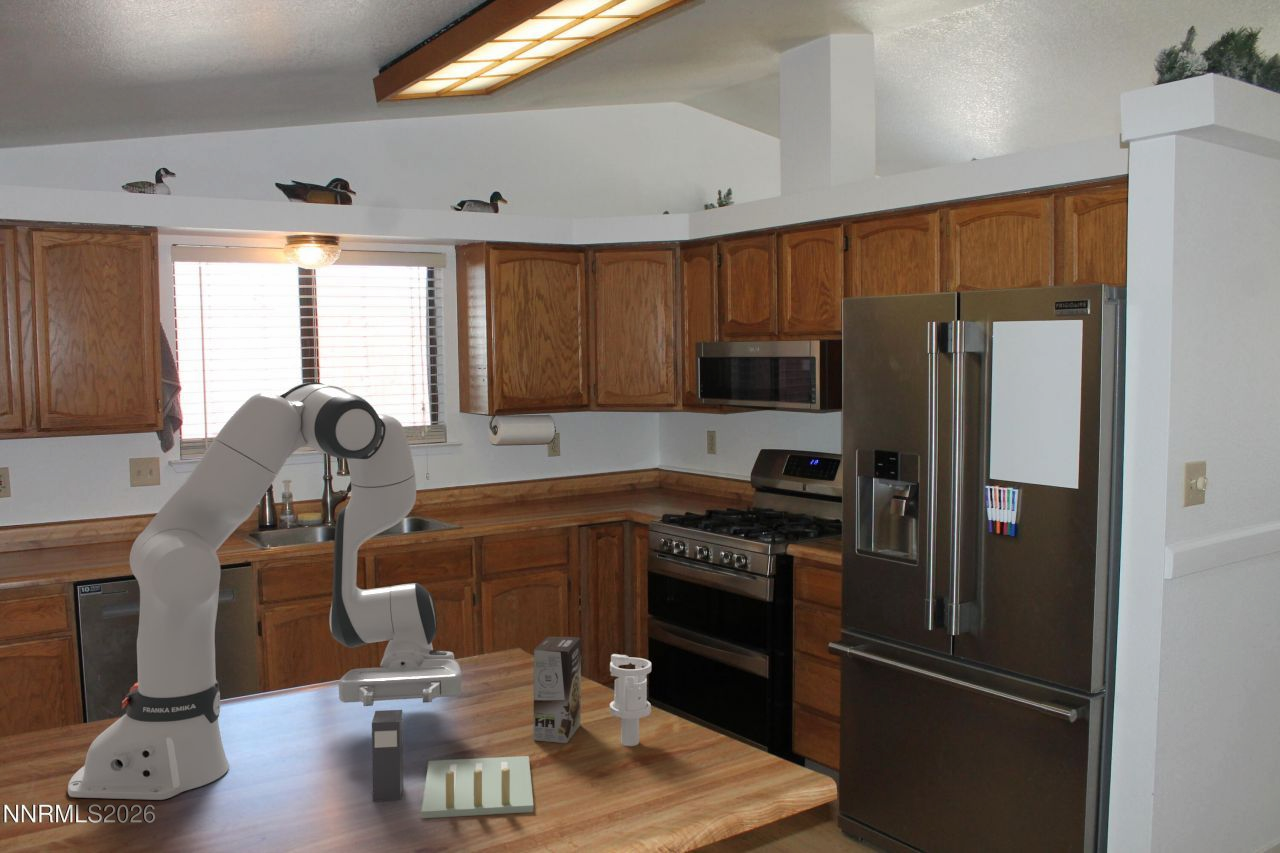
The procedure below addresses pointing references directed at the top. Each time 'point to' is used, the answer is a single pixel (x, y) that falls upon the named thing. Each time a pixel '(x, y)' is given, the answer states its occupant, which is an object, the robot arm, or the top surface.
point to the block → (387, 755)
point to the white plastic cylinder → (630, 695)
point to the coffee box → (557, 689)
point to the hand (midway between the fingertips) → (397, 699)
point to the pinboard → (477, 787)
